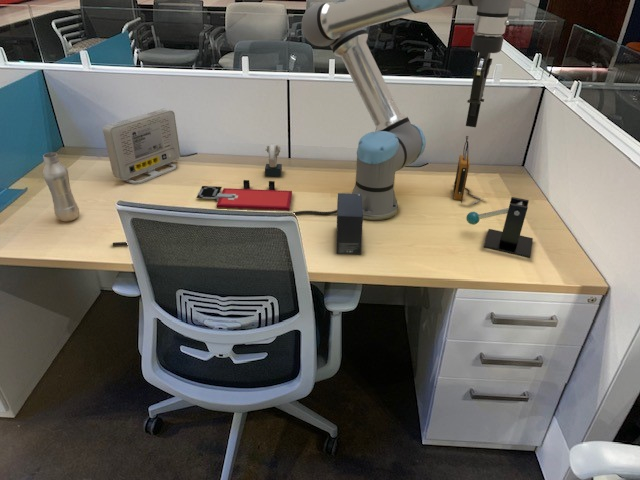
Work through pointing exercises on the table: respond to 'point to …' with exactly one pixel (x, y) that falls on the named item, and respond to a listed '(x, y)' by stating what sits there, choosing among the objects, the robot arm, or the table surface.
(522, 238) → the lever base
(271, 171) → the white figurine
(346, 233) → the small box
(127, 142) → the network device
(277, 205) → the red board with handle
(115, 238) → the table surface
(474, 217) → the ball knob joystick
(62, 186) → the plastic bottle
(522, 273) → the table surface
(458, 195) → the multimeter
